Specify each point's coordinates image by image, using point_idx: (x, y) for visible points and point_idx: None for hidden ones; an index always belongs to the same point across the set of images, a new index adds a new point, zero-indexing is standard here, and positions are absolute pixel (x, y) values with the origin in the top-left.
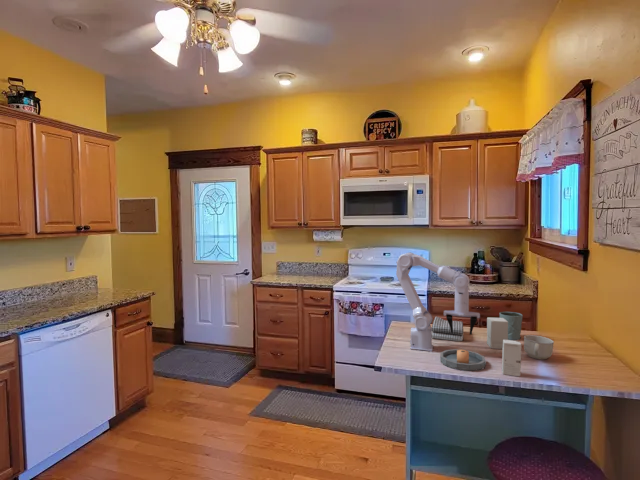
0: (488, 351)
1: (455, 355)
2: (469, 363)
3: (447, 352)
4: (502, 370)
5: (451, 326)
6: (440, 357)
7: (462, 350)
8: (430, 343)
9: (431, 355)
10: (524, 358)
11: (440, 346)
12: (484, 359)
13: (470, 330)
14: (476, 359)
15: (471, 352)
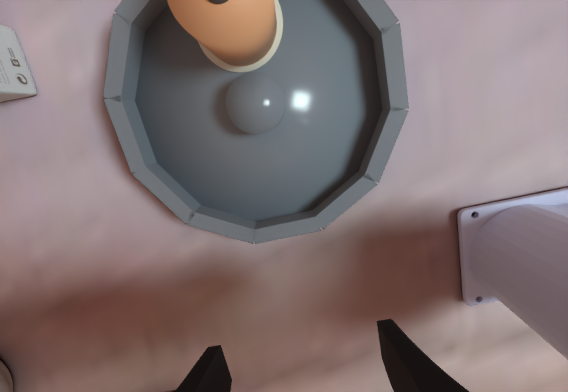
0: (180, 346)
1: (312, 171)
2: (205, 65)
3: (364, 166)
4: (6, 43)
5: (417, 367)
6: (395, 23)
7: (228, 18)
8: (496, 252)
9: (452, 138)
10: (14, 327)
11: (418, 311)
12: (117, 122)
13: (202, 374)
14: (187, 165)
15: (222, 220)
